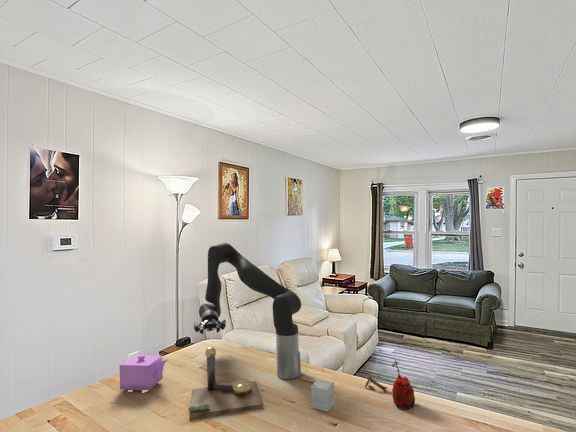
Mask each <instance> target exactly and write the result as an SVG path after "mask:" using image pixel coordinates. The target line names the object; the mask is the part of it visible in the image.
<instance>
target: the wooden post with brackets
mask: <svg viewBox="0 0 576 432" xmlns="http://www.w3.org/2000/svg"><path fill="white" fill-rule="evenodd" d="M365 378H366V380H367V381H366V383H365V385H364V387H365V388H367V386H368V388H369V389H370V390H371V391H372V390H373V391H375V386H376V387H378V388H380V389H381V390H382V391H383V393H386V392H387V389H388V386H384V385H382V384H380V382H378V381H376V380H374V379H373V378H372V376H368V375H366V377H365ZM371 383H372V384H373V385H375V386H372V385H370V384H371Z"/></svg>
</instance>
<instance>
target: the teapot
mask: <svg viewBox="0 0 576 432" xmlns="http://www.w3.org/2000/svg"><path fill="white" fill-rule="evenodd" d="M169 361H170V359H169V358H168V359H163V355H159V354H158V355H154V354H153V355H152V354H151V355H149V354H148V355H147V354H134V355H133V356H131V357H129V359H127V360H124V361H123V362H122V363H121V364H119V389H120V390H122V391H124V390H126V391H128V390H134V391H142V390H149V391H151V389H153V388H154V387H155V386H156V384H158V383H160V382H161V381H162V379H164V378H163V377H164V376H163V374H164V373H163V371H164V367H165V364H166V363H167V362H169Z"/></svg>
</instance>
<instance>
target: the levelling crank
mask: <svg viewBox="0 0 576 432" xmlns="http://www.w3.org/2000/svg"><path fill="white" fill-rule="evenodd" d="M204 351H205V352H204V353H205V357H206V376H207V377H206V379H207V380H206V381H207V384H206V385H207V386H206V387H208V390H215V389H217V390H231V391H232V392H233V394H235V395H239V396H242V395H247V394H249V393H250V392H251V391H252V383H251V382H252V381H251V380H248V379H239V380H236V381H234V382H222V381H216V378H217V377H216V354H217V350H216V348H215V347H213V346H209V347H207V348H206V349H205V350H204Z"/></svg>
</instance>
